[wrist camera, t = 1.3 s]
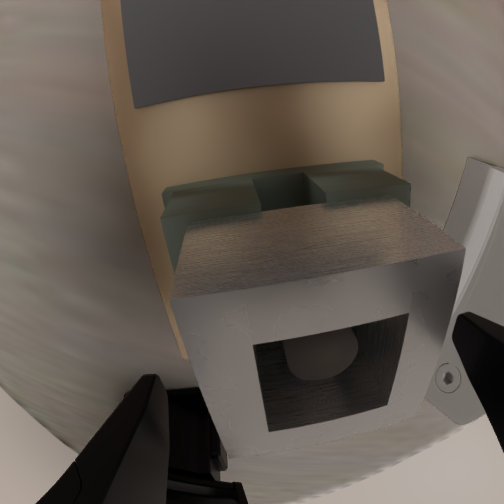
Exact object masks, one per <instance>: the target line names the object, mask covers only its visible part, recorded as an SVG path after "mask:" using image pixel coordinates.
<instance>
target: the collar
mask: <svg viewBox="0 0 504 504" xmlns="http://www.w3.org/2000/svg"><path fill="white" fill-rule="evenodd" d="M465 253H466V248H465V247H464V246H463V245H461V244H460V243H459V242H457V241H456V240H455V239H453V238H452V237H451V236H449V235H448V234H447V233H445V232H444V231H442V230H441V229H440V228H438V227H437V226H435V225H434V224H433V223H431V222H430V221H428V220H427V219H426V218H424V217H423V216H421V215H420V214H418V213H417V212H415V211H414V210H412V209H411V208H409V207H408V206H406V205H405V204H403V203H402V202H400V201H399V200H397V199H396V198H394V197H393V196H391V195H385V196H376V197H368V198H359V199H351V200H343V201H335V202H327V203H320V204H312V205H305V206H297V207H290V208H283V209H276V210H269V211H262V212H256V213H249V214H243V215H236V216H230V217H223V218H217V219H211V220H205V221H199V222H193V223H188V225H187V229H186V233H185V236H184V240H183V244H182V248H181V252H180V256H179V260H178V264H177V268H176V272H175V276H174V281H173V285H172V289H171V293H170V298H169V302H170V305H171V308H172V311H173V314H174V317H175V320H176V323H177V326H178V329H179V332H180V335H181V338H182V341H183V344H184V346H185V349H186V352H187V355H188V358H189V360H190V363H191V366H192V369H193V371H194V374H195V377H196V379H197V382H198V385H199V387H200V390H201V392H202V395H203V398H204V400H205V403H206V405H207V408H208V410H209V413H210V415H211V417H212V420H213V422H214V425H215V427H216V429H217V432H218V434H219V436H220V439H221V441H222V443H223V446H224V448H225V450H226V452H227V455H228V457H229V458H236V457H246V456H254V455H262V454H269V453H275V452H282V451H287V450H293V449H299V448H304V447H309V446H314V445H318V444H323V443H327V442H332V441H336V440H340V439H344V438H348V437H352V436H355V435H359V434H363V433H366V432H370V431H373V430H376V429H380V428H383V427H386V426H389V425H392V424H395V423H398V422H401V421H404V420H407V419H410V418H413V417H415V416H417V413H418V411H419V409H420V406H421V404H422V401H423V399H424V397H425V394H426V391H427V389H428V386H429V384H430V381H431V378H432V376H433V373H434V370H435V367H436V364H437V362H438V359H439V356H440V353H441V349H442V346H443V343H444V340H445V337H446V333H447V330H448V326H449V323H450V319H451V316H452V312H453V308H454V304H455V300H456V296H457V292H458V287H459V283H460V278H461V274H462V269H463V264H464V258H465ZM347 327H351V329H352V331H353V333H354V335H355V337H356V339H357V341H358V352H357V355H356V357H355V359H354V360H353V362H352V363H351V364H350V365H349V366H348V367H347V368H346V369H345V370H343V371H342V372H340V373H339V374H337V375H335V376H333V377H330V378H327V379H323V380H315V381H312V380H304V379H301V378H298V377H296V376H295V375H294V374H293V373H292V372H291V371H290V370H289V367H288V364H287V360H286V355H285V351H284V347H283V343H282V340H285V339H291V338H297V337H302V336H307V335H313V334H318V333H323V332H328V331H333V330H338V329H342V328H347Z"/></svg>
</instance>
